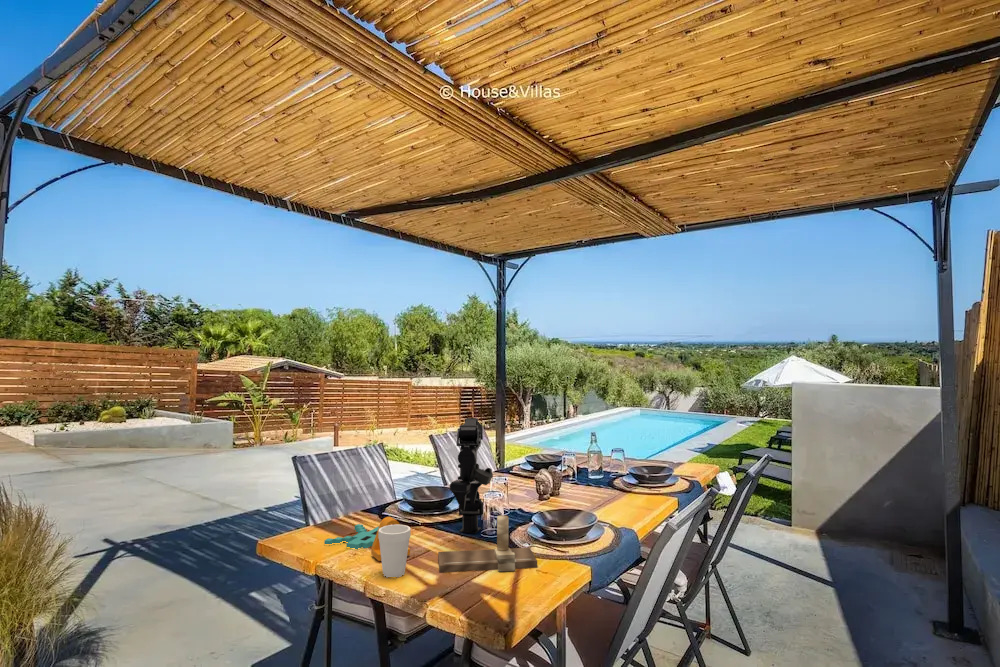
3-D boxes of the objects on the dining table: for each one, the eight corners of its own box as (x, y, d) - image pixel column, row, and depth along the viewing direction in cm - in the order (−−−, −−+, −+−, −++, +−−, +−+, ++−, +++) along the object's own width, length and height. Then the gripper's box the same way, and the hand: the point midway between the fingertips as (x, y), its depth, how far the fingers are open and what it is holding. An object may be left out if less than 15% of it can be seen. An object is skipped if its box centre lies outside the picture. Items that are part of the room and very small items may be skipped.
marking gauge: (498, 571, 160) (498, 524, 160) (494, 559, 170) (494, 515, 170) (514, 570, 160) (515, 524, 161) (509, 558, 170) (509, 515, 171)
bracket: (378, 564, 166) (379, 524, 167) (371, 556, 172) (371, 519, 173) (410, 557, 172) (411, 519, 173) (402, 550, 178) (403, 514, 179)
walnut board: (439, 572, 159) (439, 565, 159) (438, 558, 171) (438, 551, 171) (537, 567, 164) (537, 560, 164) (529, 553, 175) (529, 547, 176)
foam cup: (371, 575, 157) (371, 530, 158) (393, 565, 165) (394, 522, 165) (394, 582, 152) (395, 536, 153) (416, 572, 159) (417, 528, 160)
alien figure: (324, 546, 183) (374, 553, 176) (324, 540, 183) (375, 546, 176) (357, 530, 202) (404, 535, 195) (358, 524, 202) (404, 529, 195)
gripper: (480, 467, 174) (479, 516, 173) (498, 458, 192) (498, 502, 191) (449, 465, 178) (448, 512, 177) (470, 456, 196) (469, 499, 195)
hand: (467, 506), depth 185 cm, fingers open, 9 cm apart
